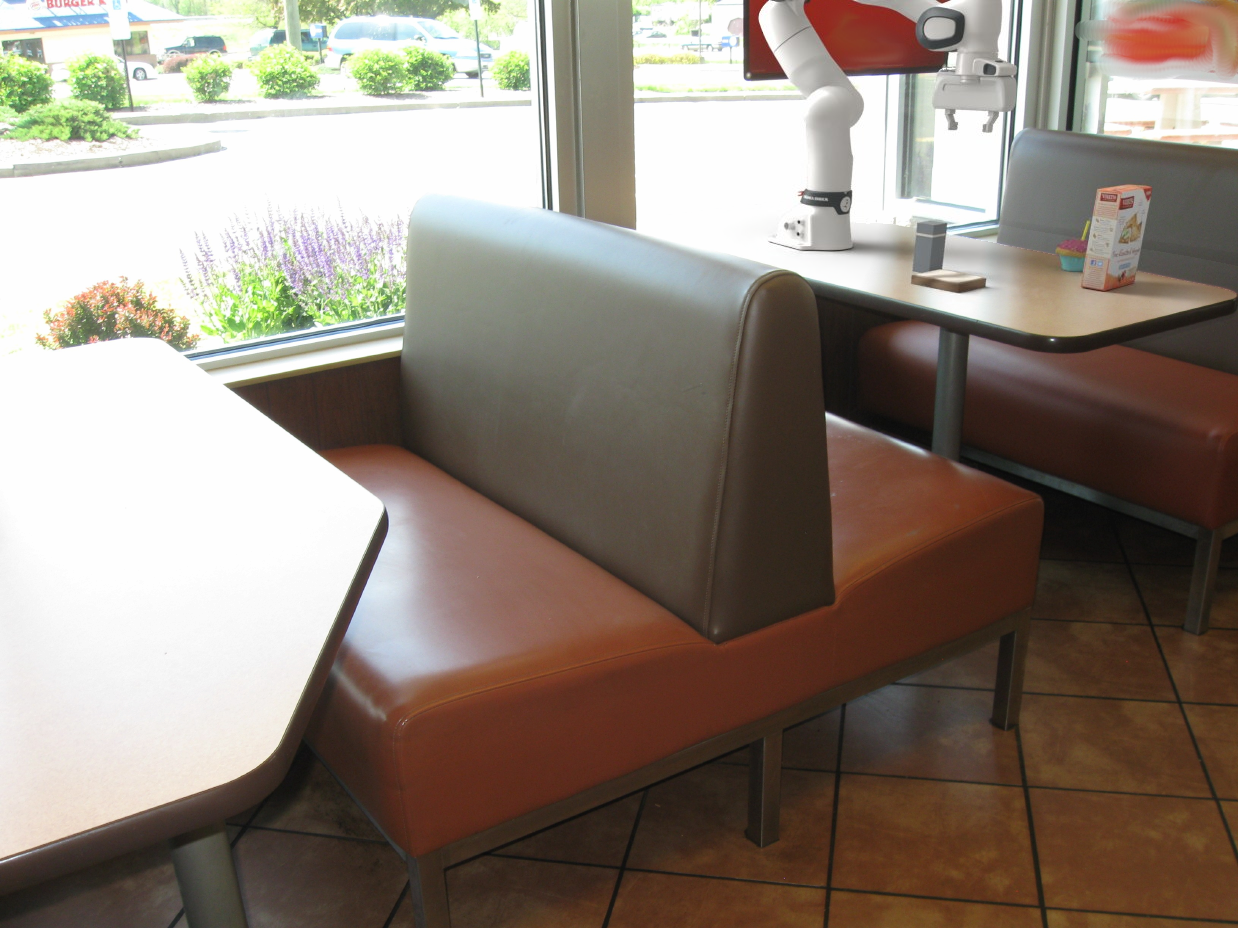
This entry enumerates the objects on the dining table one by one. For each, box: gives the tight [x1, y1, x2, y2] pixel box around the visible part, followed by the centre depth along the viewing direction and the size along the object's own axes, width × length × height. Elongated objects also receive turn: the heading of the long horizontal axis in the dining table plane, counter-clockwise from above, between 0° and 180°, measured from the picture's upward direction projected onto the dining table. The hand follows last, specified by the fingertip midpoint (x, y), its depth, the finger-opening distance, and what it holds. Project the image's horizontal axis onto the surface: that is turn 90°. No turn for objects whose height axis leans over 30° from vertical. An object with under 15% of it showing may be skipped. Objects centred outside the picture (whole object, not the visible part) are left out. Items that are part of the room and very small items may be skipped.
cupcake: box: [1055, 217, 1092, 272], centre depth 251 cm, size 9×8×12 cm
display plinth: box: [910, 269, 987, 294], centre depth 237 cm, size 12×10×2 cm
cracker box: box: [1080, 184, 1153, 292], centre depth 234 cm, size 14×6×21 cm, turn 131°
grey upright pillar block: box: [912, 220, 948, 274], centre depth 250 cm, size 5×5×11 cm
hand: (969, 131), depth 250 cm, fingers open, 8 cm apart
